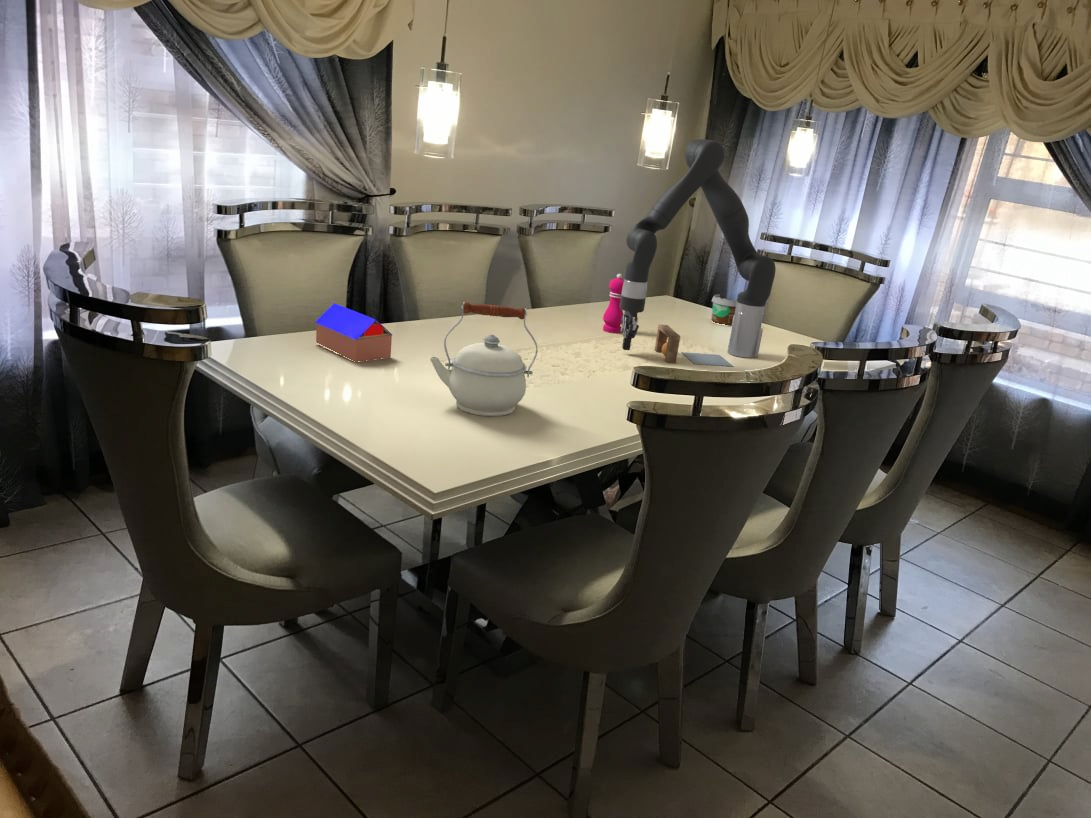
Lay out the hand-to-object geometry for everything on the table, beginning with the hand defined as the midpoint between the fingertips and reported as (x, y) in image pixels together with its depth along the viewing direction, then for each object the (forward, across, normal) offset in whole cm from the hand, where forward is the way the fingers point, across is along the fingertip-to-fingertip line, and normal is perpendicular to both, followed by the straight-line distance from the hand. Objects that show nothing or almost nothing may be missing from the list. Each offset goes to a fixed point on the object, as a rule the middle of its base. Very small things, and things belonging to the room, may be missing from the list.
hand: (625, 349), depth 266 cm
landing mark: (+2, 0, -27) cm, 27 cm away
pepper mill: (+2, +30, -2) cm, 30 cm away
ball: (-1, 0, -14) cm, 14 cm away
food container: (+2, +56, -50) cm, 75 cm away
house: (+2, -17, +82) cm, 84 cm away
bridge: (+2, 0, -13) cm, 13 cm away
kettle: (+2, -58, +50) cm, 77 cm away
